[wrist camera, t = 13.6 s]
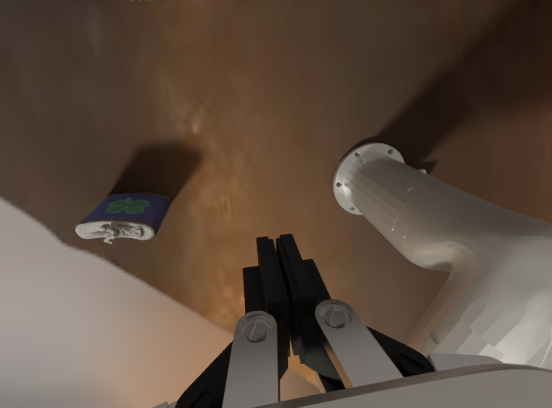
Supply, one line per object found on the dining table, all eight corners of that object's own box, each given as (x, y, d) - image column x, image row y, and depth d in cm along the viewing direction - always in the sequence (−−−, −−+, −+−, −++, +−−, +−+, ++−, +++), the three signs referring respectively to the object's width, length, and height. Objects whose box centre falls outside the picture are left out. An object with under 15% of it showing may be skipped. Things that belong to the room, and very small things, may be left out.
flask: (107, 208, 39) (67, 248, 30) (104, 190, 38) (62, 226, 29) (171, 210, 41) (153, 248, 32) (170, 192, 40) (151, 227, 30)
